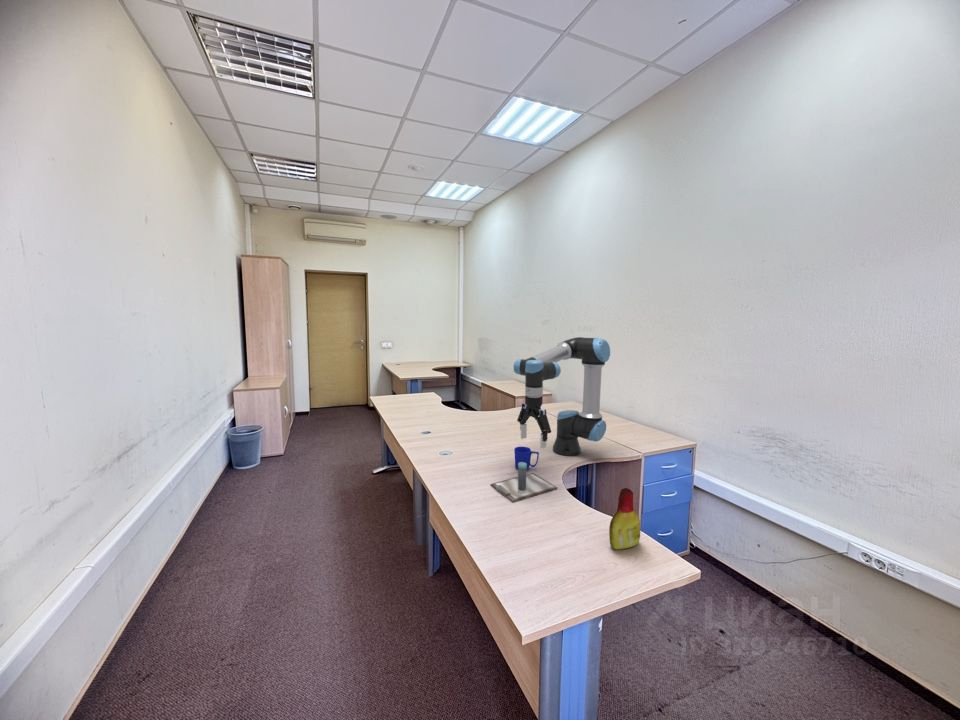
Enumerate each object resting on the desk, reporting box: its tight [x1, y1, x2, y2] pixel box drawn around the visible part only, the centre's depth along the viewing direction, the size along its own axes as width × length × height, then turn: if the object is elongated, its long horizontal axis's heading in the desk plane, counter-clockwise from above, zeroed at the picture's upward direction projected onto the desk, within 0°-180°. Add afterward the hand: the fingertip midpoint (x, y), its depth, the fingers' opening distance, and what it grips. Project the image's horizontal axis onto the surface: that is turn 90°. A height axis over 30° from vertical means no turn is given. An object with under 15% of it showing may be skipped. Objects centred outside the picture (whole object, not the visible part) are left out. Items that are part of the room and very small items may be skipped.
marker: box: [517, 462, 527, 493], centre depth 154 cm, size 4×4×12 cm
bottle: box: [608, 487, 641, 550], centre depth 119 cm, size 12×6×20 cm, turn 111°
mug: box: [513, 446, 540, 470], centre depth 179 cm, size 8×12×10 cm
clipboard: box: [489, 472, 558, 504], centre depth 160 cm, size 24×17×2 cm
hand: (533, 442), depth 159 cm, fingers open, 13 cm apart
